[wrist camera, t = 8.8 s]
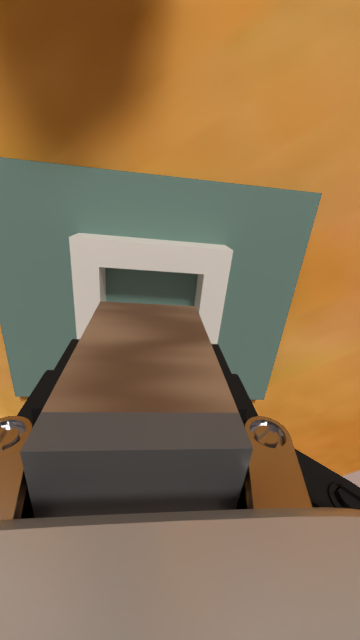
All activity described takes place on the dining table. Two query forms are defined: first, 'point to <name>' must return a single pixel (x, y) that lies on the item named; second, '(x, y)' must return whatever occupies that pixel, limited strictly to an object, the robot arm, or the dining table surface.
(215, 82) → the dining table surface
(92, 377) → the grey metal plug
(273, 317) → the socket board
